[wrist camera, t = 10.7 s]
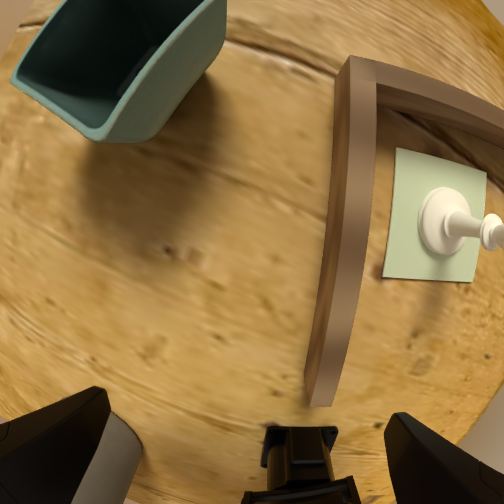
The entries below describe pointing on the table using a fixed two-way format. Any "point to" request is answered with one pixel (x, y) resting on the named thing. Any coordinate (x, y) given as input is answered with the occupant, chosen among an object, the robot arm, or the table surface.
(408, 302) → the table surface
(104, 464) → the canister
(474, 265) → the pad
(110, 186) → the table surface
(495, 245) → the chess piece
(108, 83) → the flower pot
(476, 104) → the corner wall
